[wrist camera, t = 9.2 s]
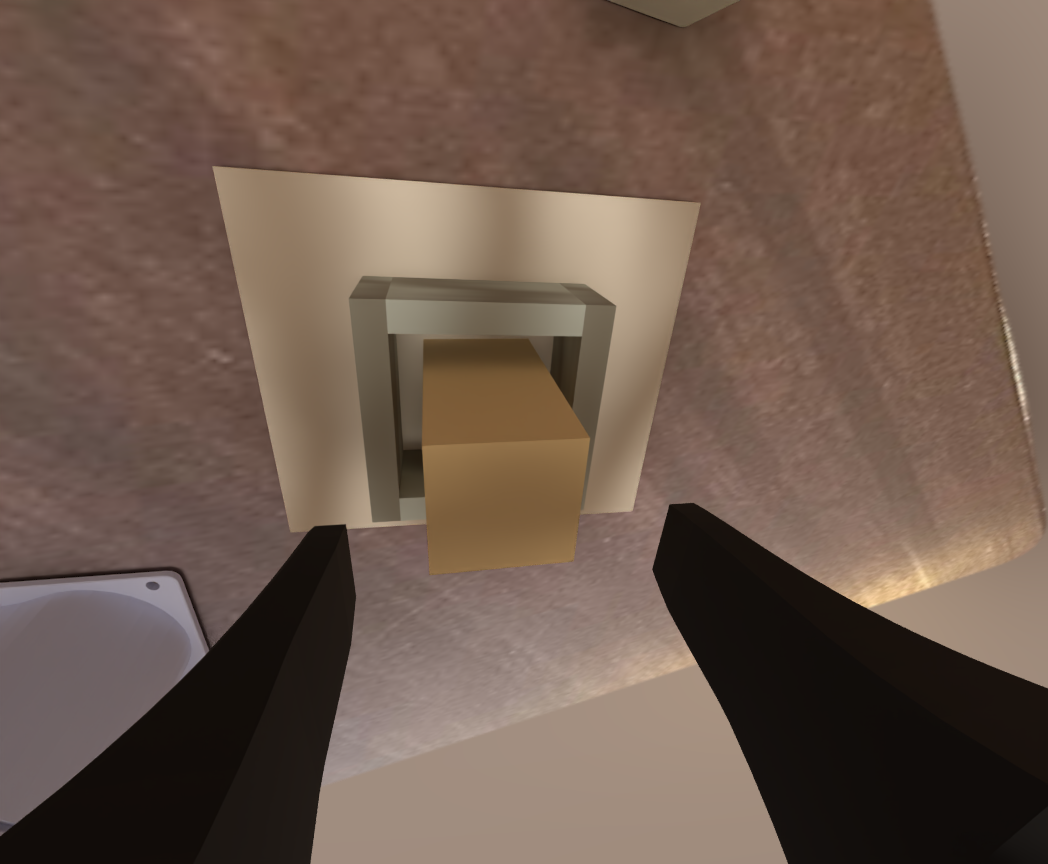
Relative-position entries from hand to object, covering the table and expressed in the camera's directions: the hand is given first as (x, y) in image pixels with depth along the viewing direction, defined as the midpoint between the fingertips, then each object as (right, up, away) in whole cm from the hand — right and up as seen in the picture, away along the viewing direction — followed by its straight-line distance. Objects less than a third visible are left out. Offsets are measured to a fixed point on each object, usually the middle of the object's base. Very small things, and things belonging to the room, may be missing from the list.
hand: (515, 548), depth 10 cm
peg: (-2, +4, +8) cm, 10 cm away
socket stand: (-2, +5, +9) cm, 10 cm away
